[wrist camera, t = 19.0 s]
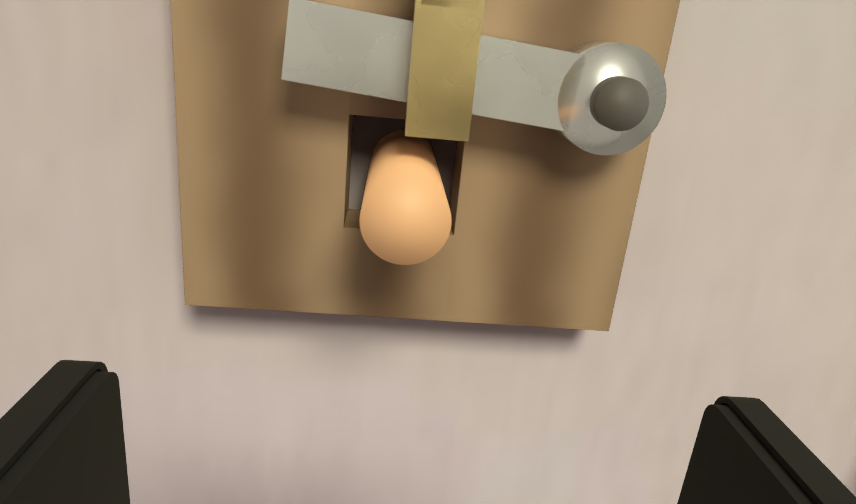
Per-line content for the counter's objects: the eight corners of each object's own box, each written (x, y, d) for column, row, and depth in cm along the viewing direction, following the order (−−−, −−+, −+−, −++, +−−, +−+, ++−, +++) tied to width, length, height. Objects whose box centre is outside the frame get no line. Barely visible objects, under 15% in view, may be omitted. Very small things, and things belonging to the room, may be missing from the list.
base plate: (658, -30, 28) (736, -46, 22) (590, 305, 34) (636, 371, 27) (190, -81, 27) (124, -115, 20) (203, 280, 32) (154, 344, 26)
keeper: (475, -40, 25) (490, -53, 21) (457, 123, 27) (468, 141, 23) (416, -46, 25) (420, -61, 21) (403, 119, 27) (404, 136, 23)
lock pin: (437, 133, 30) (456, 181, 21) (431, 195, 31) (446, 267, 22) (373, 127, 30) (362, 173, 21) (369, 190, 31) (357, 261, 22)
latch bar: (656, 52, 26) (680, 54, 24) (627, 152, 28) (647, 163, 26) (301, -20, 25) (291, -24, 22) (289, 91, 26) (279, 97, 24)
